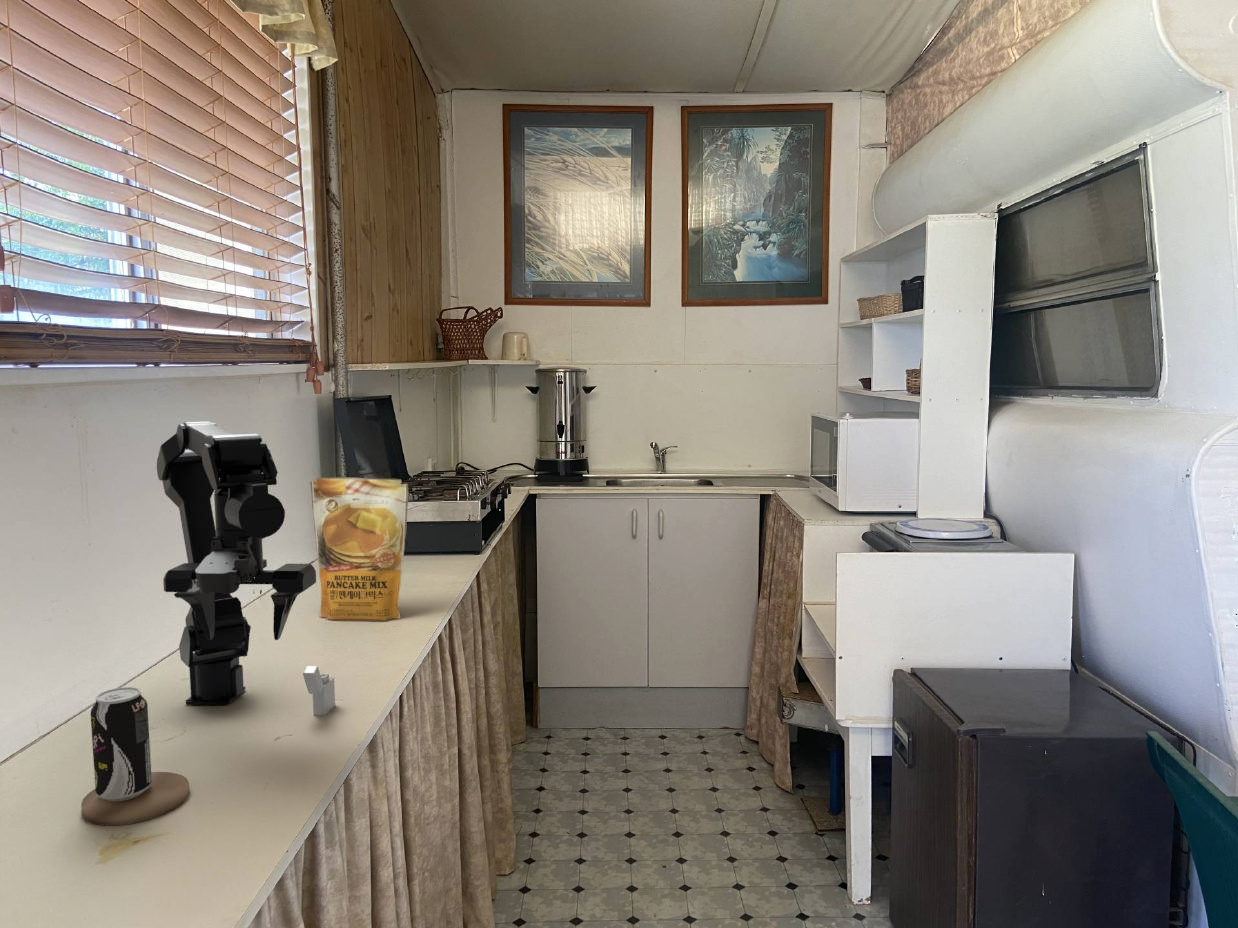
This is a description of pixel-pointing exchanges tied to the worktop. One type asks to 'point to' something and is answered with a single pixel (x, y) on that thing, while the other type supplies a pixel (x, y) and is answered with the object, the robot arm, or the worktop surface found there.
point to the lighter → (320, 690)
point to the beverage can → (121, 744)
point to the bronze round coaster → (138, 802)
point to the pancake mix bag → (360, 546)
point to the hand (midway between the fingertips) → (244, 639)
